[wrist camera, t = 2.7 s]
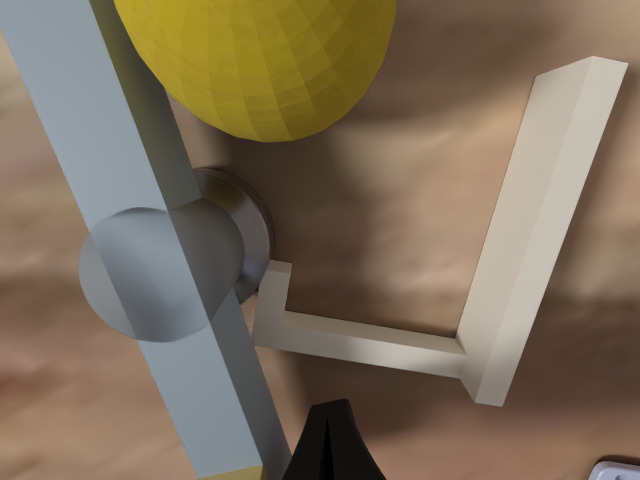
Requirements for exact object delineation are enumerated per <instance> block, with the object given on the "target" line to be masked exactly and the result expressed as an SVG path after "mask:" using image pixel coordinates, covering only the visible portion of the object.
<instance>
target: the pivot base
mask: <svg viewBox="0 0 640 480" xmlns="http://www.w3.org/2000/svg"><path fill="white" fill-rule="evenodd" d="M193 172H194V175H195V178H196V181H197V184H198V186H199V189H200V192H201V195H202V198H205V199H207V200H210V201H211V202H213V203H215V204H217V205H218V206H220V207H221V208H222V209H223V210H225V211H226V212H227V213H228V214H229V215H230V217H231V218H232V219H233V220H234V222H235V223H236V225H237V226H238V228H239V230H240V232H241V235H242V238H243V242H244V248H245V259H244V265H243V269H242V271H241V274H240V276H239V278H238V280H237V281H236V283H235V284H234V286H233V287H234V290H235V293H236V296H237V299H238V302H239V305H241V304H242V303H243V302H245V301H246V300H247V299H248V298H249V297H250V296H251V295H252V294H253V292H254V291H255V290H256V288H257V287H258V285H259V284H260V282H261V280H262V278H263V276H264V273H265V271H266V268H267V266H268V264H269V262H270V260H271V257H272V254H273V249H274V240H275V237H274V227H273V222H272V219H271V216H270V213H269V211H268V209H267V207H266V205H265V203H264V202H263V200H262V199H261V197H260V196H259V195H258V194H257V193H256V191H255V190H254V189H253V188H251V187H250V186H249V185H248V184H247V183H245V182H244V181H243V180H241V179H239V178H238V177H236V176H234V175H232V174H229V173H227V172H224V171H220V170H216V169H209V168H195V169H193Z"/></svg>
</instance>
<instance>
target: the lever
mask: <svg viewBox="0 0 640 480" xmlns="http://www.w3.org/2000/svg"><path fill="white" fill-rule="evenodd" d="M0 28H1V31H2V33H3V35H4V37H5V40H6V42H7V44H8V47H9V49H10V51H11V53H12V56H13V58H14V60H15V63H16V65H17V67H18V69H19V72H20V74H21V76H22V79H23V81H24V83H25V85H26V88H27V90H28V92H29V95H30V97H31V99H32V101H33V104H34V106H35V108H36V110H37V113H38V115H39V117H40V120H41V122H42V124H43V126H44V129H45V131H46V133H47V136H48V138H49V140H50V142H51V145H52V147H53V149H54V152H55V154H56V156H57V158H58V161H59V163H60V165H61V168H62V170H63V172H64V174H65V177H66V179H67V181H68V183H69V186H70V188H71V190H72V193H73V195H74V197H75V199H76V202H77V204H78V206H79V209H80V211H81V213H82V215H83V218H84V220H85V222H86V225H87V227H88V229H89V231H90V232H89V234H88V235H87V237H86V239H85V240H84V243H83V245H82V248H81V251H80V256H79V265H78V269H79V278H80V283H81V287H82V289H83V292H84V295H85V297H86V299H87V301H88V302H89V304H90V305H91V307H92V308H93V310H94V311H95V312H96V313H97V315H98V316H99V317H100V318H101V319H102V320H103V321H104V322H105V323H107V324H108V325H109V326H111V327H112V328H113V329H115V330H117V331H118V332H120V333H122V334H124V335H126V336H128V337H130V338H133V339H136V340H137V341H138V343H139V345H140V348H141V350H142V352H143V355H144V357H145V359H146V361H147V364H148V366H149V368H150V371H151V373H152V375H153V377H154V380H155V382H156V384H157V387H158V389H159V391H160V393H161V396H162V398H163V400H164V403H165V405H166V407H167V409H168V412H169V414H170V416H171V419H172V421H173V423H174V425H175V428H176V430H177V432H178V434H179V437H180V439H181V441H182V444H183V446H184V448H185V450H186V453H187V455H188V457H189V460H190V462H191V464H192V466H193V469H194V471H195V473H196V476H197V478H198V479H197V480H281V479H282V477H283V475H284V473H285V471H286V469H287V467H288V465H289V462H290V460H291V458H292V455H291V452H290V449H289V446H288V443H287V440H286V437H285V434H284V432H283V429H282V426H281V423H280V420H279V417H278V414H277V411H276V409H275V406H274V403H273V400H272V397H271V394H270V391H269V388H268V385H267V383H266V380H265V377H264V374H263V371H262V368H261V365H260V362H259V359H258V357H257V354H256V351H255V348H254V345H253V342H252V339H251V336H250V334H249V331H248V328H247V325H246V322H245V319H244V316H243V313H242V310H241V308H240V305H239V302H238V299H237V296H236V293H235V290H234V287H233V286H234V284H235V283H236V281H237V280H238V278H239V276H240V274H241V271H242V269H243V265H244V259H245V248H244V242H243V238H242V235H241V232H240V230H239V228H238V226H237V225H236V223H235V222H234V220H233V219H232V218H231V217H230V215H229V214H228V213H227V212H226V211H225V210H223V209H222V208H221V207H220V206H218V205H217V204H215V203H213V202H211V201H210V200H207V199H205V198H202V195H201V192H200V189H199V186H198V184H197V181H196V178H195V175H194V172H193V169H192V166H191V163H190V160H189V158H188V155H187V152H186V149H185V146H184V143H183V140H182V137H181V135H180V132H179V129H178V126H177V123H176V120H175V117H174V114H173V111H172V109H171V106H170V103H169V100H168V97H167V94H166V91H165V88H164V86H163V85H162V84H161V82H160V81H159V80H158V79H157V77H156V76H155V75H154V74H153V72H152V71H151V70H150V68H149V67H148V66H147V65H146V63H145V62H144V61H143V59H142V58H141V57H140V55H139V54H138V52H137V50H136V49H135V47H134V45H133V43H132V41H131V39H130V36H129V34H128V32H127V30H126V28H125V26H124V24H123V22H122V20H121V18H120V16H119V14H118V12H117V9H116V6H115V3H114V0H0Z"/></svg>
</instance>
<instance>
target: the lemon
mask: <svg viewBox="0 0 640 480" xmlns="http://www.w3.org/2000/svg"><path fill="white" fill-rule="evenodd" d="M114 3H115V6H116V9H117V12H118V14H119V16H120V18H121V20H122V22H123V24H124V26H125V28H126V30H127V32H128V34H129V36H130V39H131V41H132V43H133V45H134V47H135V49H136V50H137V52H138V54H139V55H140V57H141V58H142V59H143V61H144V62H145V63H146V65H147V66H148V67H149V68H150V70H151V71H152V72H153V74H154V75H155V76H156V77H157V79H158V80H159V81H160V82H161V84H162V85H163V86H164V88H165V89H166V90H167V91H168V93H169V94H170V95H171V96H172V97H174V98H175V99H176V100H177V101H178V102H180V103H181V104H182V105H183V106H185V107H186V108H187V109H188V110H189V111H191V112H192V113H193V114H194V115H196V116H197V117H198V118H199V119H201V120H202V121H203V122H205V123H207V124H209V125H212V126H214V127H216V128H218V129H220V130H222V131H224V132H226V133H228V134H231V135H233V136H235V137H239V138H244V139H250V140H255V141H260V142H282V141H295V140H298V139H301V138H304V137H307V136H310V135H313V134H316V133H319V132H321V131H323V130H324V129H326V128H327V127H329V126H330V125H332V124H333V123H335V122H336V121H338V120H339V119H341V118H342V117H344V116H345V115H346V114H347V113H348V112H349V111H350V110H351V109H352V107H353V106H354V105H355V104H356V103H357V102H358V101H359V100H360V99H361V98H362V96H363V95H364V94H365V93H366V92H367V91H368V89H369V87H370V85H371V83H372V81H373V79H374V78H375V76H376V74H377V72H378V70H379V68H380V67H381V65H382V63H383V61H384V59H385V56H386V52H387V48H388V44H389V41H390V37H391V33H392V30H393V26H394V22H395V18H396V9H397V0H114Z"/></svg>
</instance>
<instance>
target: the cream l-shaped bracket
mask: <svg viewBox="0 0 640 480" xmlns="http://www.w3.org/2000/svg"><path fill="white" fill-rule="evenodd" d="M627 66H628V63H624V62H620V61H615V60H610V59H605V58H600V57H596V56H592V57H589V58H586V59H583V60H580V61H577V62H574V63H572V64H569V65H566V66H563V67H560V68H557V69H554V70H552V71H549V72H546V73H543V74H540V75H537V76H536V78H535V81H534V84H533V88H532V91H531V94H530V97H529V101H528V104H527V107H526V110H525V114H524V117H523V120H522V123H521V126H520V130H519V133H518V136H517V139H516V143H515V146H514V149H513V152H512V156H511V159H510V162H509V165H508V168H507V172H506V175H505V178H504V181H503V185H502V188H501V191H500V194H499V197H498V201H497V204H496V207H495V210H494V214H493V217H492V220H491V223H490V227H489V230H488V233H487V236H486V239H485V243H484V246H483V249H482V252H481V256H480V259H479V262H478V265H477V269H476V272H475V275H474V278H473V281H472V285H471V288H470V291H469V294H468V298H467V301H466V304H465V307H464V311H463V314H462V317H461V320H460V323H459V327H458V330H457V333H456V336H455V339H454V338H448V337H441V336H435V335H429V334H423V333H417V332H411V331H405V330H399V329H393V328H387V327H381V326H375V325H369V324H363V323H357V322H351V321H345V320H339V319H333V318H327V317H321V316H315V315H309V314H303V313H297V312H291V311H285V305H286V299H287V293H288V288H289V282H290V276H291V270H292V264H293V263H288V262H282V261H276V260H270V262H269V264H268V266H267V268H266V271H265V273H264V276H263V278H262V280H261V282H260V284H259V291H258V298H257V304H256V311H255V318H254V325H253V331H252V338H251V339H252V342H253V345H254V346H260V347H266V348H272V349H279V350H285V351H291V352H297V353H304V354H310V355H316V356H322V357H329V358H335V359H341V360H347V361H353V362H360V363H366V364H372V365H378V366H385V367H391V368H397V369H403V370H410V371H416V372H422V373H428V374H435V375H441V376H447V377H453V378H460V380H461V382H462V383H463V385H464V387H465V388H466V390H467V391H468V393H469V395H470V396H471V398H472V400H473V401H474V403H481V404H487V405H493V406H500V407H502V406H503V404H504V401H505V398H506V395H507V393H508V390H509V387H510V385H511V382H512V379H513V376H514V374H515V371H516V368H517V366H518V363H519V360H520V357H521V355H522V352H523V349H524V346H525V344H526V341H527V338H528V336H529V333H530V330H531V327H532V325H533V322H534V319H535V317H536V314H537V311H538V308H539V306H540V303H541V300H542V297H543V295H544V292H545V289H546V287H547V284H548V281H549V278H550V276H551V273H552V270H553V268H554V265H555V262H556V259H557V257H558V254H559V251H560V248H561V246H562V243H563V240H564V238H565V235H566V232H567V229H568V227H569V224H570V221H571V219H572V216H573V213H574V210H575V208H576V205H577V202H578V199H579V197H580V194H581V191H582V189H583V186H584V183H585V180H586V178H587V175H588V172H589V170H590V167H591V164H592V161H593V159H594V156H595V153H596V150H597V148H598V145H599V142H600V140H601V137H602V134H603V131H604V129H605V126H606V123H607V121H608V118H609V115H610V112H611V110H612V107H613V104H614V101H615V99H616V96H617V93H618V91H619V88H620V85H621V82H622V80H623V77H624V74H625V72H626V69H627Z"/></svg>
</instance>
